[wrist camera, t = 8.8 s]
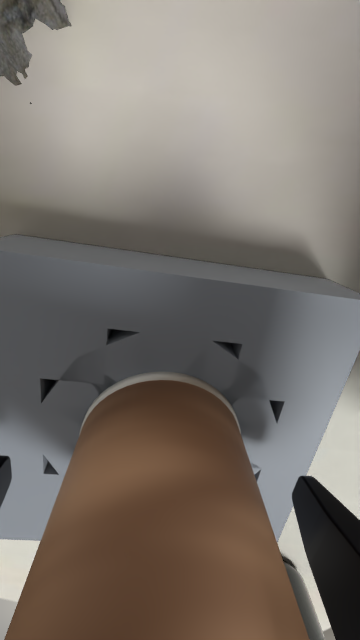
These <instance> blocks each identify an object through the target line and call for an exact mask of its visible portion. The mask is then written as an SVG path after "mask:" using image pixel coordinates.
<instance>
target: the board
mask: <svg viewBox="0 0 360 640" xmlns="http://www.w3.org/2000/svg"><path fill="white" fill-rule="evenodd" d="M359 351H360V293H358V292H355V291H353V290H351V289H349V288H346V287H344V286H342V285H340V284H338V283H335V282H333V281H331V280H329V279H324V278H317V277H310V276H303V275H296V274H289V273H282V272H275V271H268V270H261V269H254V268H247V267H240V266H233V265H226V264H219V263H212V262H205V261H198V260H191V259H184V258H177V257H170V256H163V255H156V254H149V253H142V252H135V251H128V250H121V249H114V248H107V247H100V246H93V245H86V244H79V243H72V242H65V241H58V240H52V239H45V238H38V237H31V236H24V235H17V234H15V235H10V236H5V237H0V455H4V456H9V457H10V460H11V470H12V480H11V483H10V486H9V489H8V491H7V493H6V496H5V498H4V501H3V503H2V506H1V508H0V539H11V540H38V541H41V539H42V536H43V533H44V531H45V528H46V525H47V522H48V520H49V517H50V514H51V512H52V509H53V506H54V503H55V501H56V498H57V495H58V493H59V490H60V487H61V484H62V482H63V479H64V476H65V474H66V471H67V468H68V465H69V463H70V460H71V457H72V455H73V452H74V449H75V446H76V444H77V441H78V438H79V433H80V429H81V426H82V423H83V420H84V418H85V415H86V413H87V411H88V409H89V407H90V406H91V405H92V403H93V402H94V400H95V399H96V398H97V397H98V396H99V395H100V394H101V393H102V392H104V391H105V390H106V389H107V388H109V387H110V386H112V385H114V384H115V383H117V382H119V381H121V380H123V379H126V378H128V377H131V376H135V375H138V374H143V373H148V372H175V373H182V374H186V375H189V376H193V377H196V378H198V379H200V380H203V381H205V382H206V383H208V384H210V385H212V386H213V387H214V388H216V389H217V390H218V391H220V392H221V393H222V394H223V395H224V396H225V398H226V399H227V400H228V401H229V403H230V404H231V406H232V408H233V410H234V412H235V414H236V417H237V420H238V423H239V426H240V430H241V436H242V439H243V442H244V445H245V448H246V451H247V454H248V457H249V460H250V463H251V466H252V469H253V472H254V475H255V478H256V481H257V484H258V487H259V490H260V493H261V496H262V499H263V502H264V505H265V508H266V511H267V514H268V517H269V520H270V523H271V526H272V529H273V532H274V535H275V538H276V541H277V542H278V540H279V537H280V535H281V533H282V530H283V528H284V526H285V523H286V521H287V519H288V516H289V514H290V512H291V509H292V507H293V502H292V492H293V489H294V487H295V484H296V482H297V480H298V478H299V477H300V476H306V474H307V472H308V470H309V467H310V465H311V463H312V460H313V458H314V456H315V453H316V451H317V449H318V446H319V444H320V442H321V439H322V437H323V435H324V432H325V430H326V428H327V425H328V423H329V421H330V418H331V416H332V414H333V411H334V409H335V407H336V404H337V402H338V400H339V397H340V395H341V393H342V390H343V388H344V386H345V383H346V381H347V379H348V376H349V374H350V372H351V369H352V367H353V365H354V362H355V360H356V358H357V355H358V353H359Z"/></svg>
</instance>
